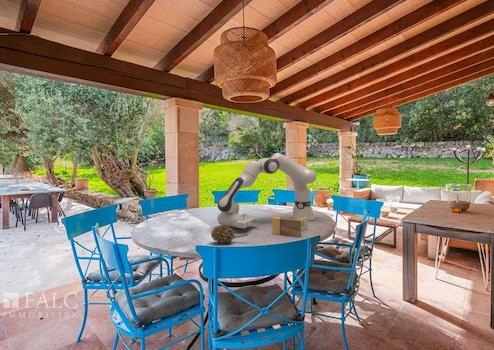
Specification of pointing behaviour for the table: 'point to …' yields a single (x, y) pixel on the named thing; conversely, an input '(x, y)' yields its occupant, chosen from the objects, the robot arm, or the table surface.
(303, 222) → the candy box
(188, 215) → the table surface
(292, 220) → the walnut board
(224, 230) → the pine cone
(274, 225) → the ochre stub
